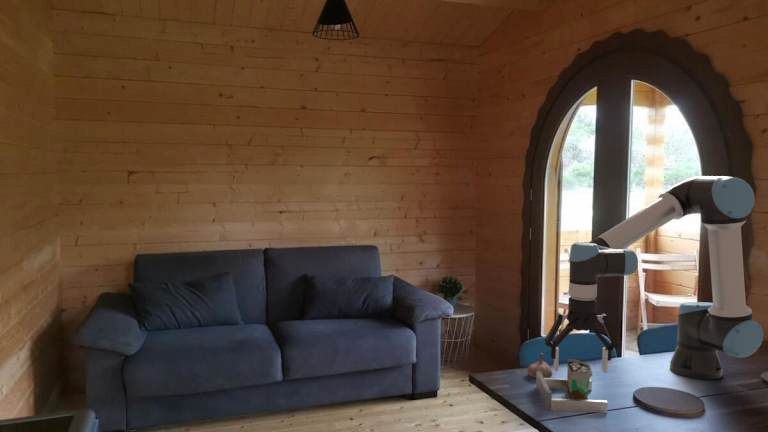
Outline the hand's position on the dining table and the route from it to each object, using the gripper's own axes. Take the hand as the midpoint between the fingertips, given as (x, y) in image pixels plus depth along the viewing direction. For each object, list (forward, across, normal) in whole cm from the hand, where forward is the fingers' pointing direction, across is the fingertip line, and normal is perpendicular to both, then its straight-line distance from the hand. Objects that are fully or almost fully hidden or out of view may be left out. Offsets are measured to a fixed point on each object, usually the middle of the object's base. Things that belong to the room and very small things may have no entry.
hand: (580, 370), depth 171 cm
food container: (+9, 0, 0) cm, 9 cm away
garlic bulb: (+9, +8, -18) cm, 22 cm away
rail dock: (+9, +2, 0) cm, 9 cm away
